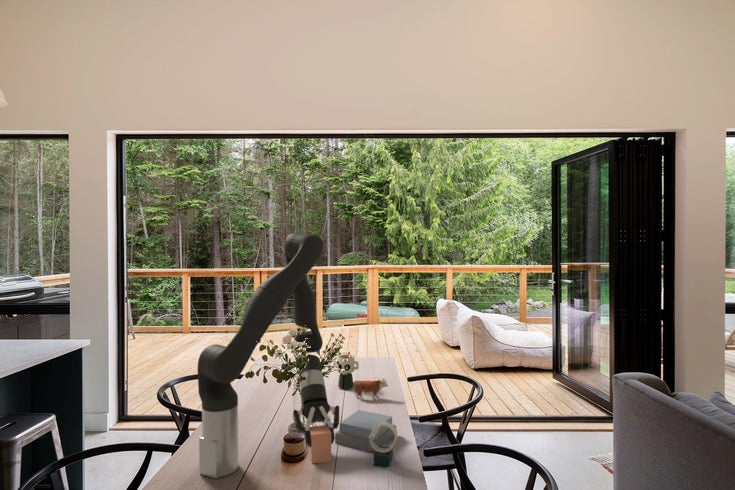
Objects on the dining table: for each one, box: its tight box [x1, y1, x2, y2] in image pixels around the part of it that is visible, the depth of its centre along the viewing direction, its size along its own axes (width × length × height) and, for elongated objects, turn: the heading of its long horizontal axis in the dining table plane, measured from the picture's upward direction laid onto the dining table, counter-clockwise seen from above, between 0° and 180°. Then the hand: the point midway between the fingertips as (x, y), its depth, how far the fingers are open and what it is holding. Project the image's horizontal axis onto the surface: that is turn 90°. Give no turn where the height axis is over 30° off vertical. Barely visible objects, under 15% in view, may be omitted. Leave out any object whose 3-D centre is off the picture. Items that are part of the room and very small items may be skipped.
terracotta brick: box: [307, 424, 332, 464], centre depth 134 cm, size 6×6×8 cm
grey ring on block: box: [369, 421, 399, 468], centre depth 132 cm, size 6×8×11 cm
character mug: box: [332, 353, 360, 390], centre depth 195 cm, size 11×7×13 cm, turn 74°
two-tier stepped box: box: [334, 409, 397, 454], centre depth 147 cm, size 14×14×6 cm
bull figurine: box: [352, 378, 389, 402], centre depth 182 cm, size 4×13×8 cm, turn 89°
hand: (320, 444), depth 133 cm, fingers closed on terracotta brick, 5 cm apart
